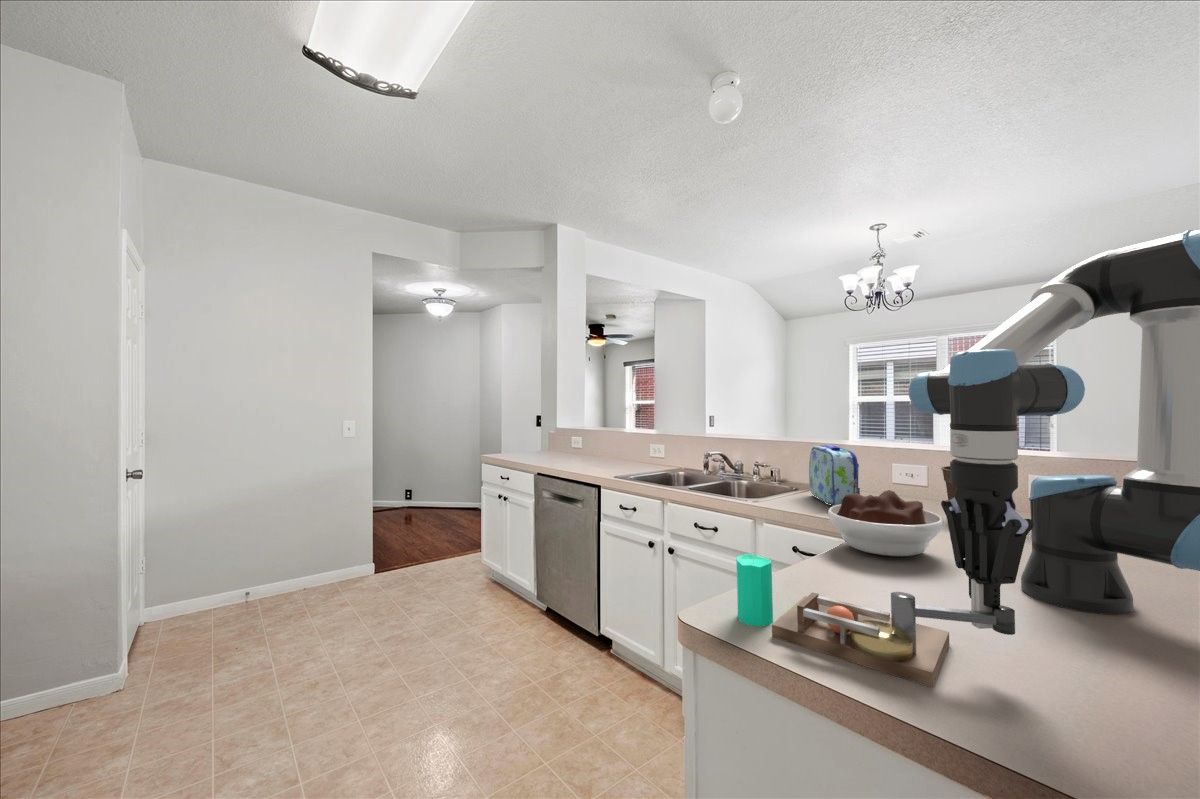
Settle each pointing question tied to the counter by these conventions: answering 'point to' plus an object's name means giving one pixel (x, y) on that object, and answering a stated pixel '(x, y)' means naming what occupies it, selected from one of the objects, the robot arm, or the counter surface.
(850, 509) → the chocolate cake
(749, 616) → the candle
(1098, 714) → the counter surface
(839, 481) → the lunch box
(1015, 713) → the counter surface
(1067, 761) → the counter surface
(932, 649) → the stand
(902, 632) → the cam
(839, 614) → the ball
